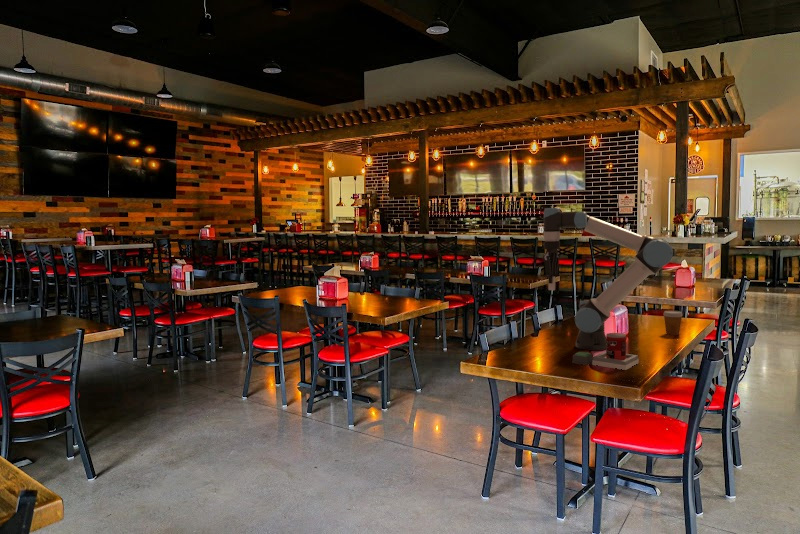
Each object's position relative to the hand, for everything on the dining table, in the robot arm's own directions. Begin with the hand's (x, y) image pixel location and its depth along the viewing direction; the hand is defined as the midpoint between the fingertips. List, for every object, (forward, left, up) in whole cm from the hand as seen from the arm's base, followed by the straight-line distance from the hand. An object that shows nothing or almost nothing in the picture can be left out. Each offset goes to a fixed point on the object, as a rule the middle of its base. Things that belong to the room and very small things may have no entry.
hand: (551, 289), depth 275 cm
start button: (+13, +22, -28) cm, 38 cm away
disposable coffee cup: (-74, +32, -30) cm, 86 cm away
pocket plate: (+7, +34, -29) cm, 45 cm away
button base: (+13, +22, -29) cm, 39 cm away
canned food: (+7, +34, -28) cm, 44 cm away
